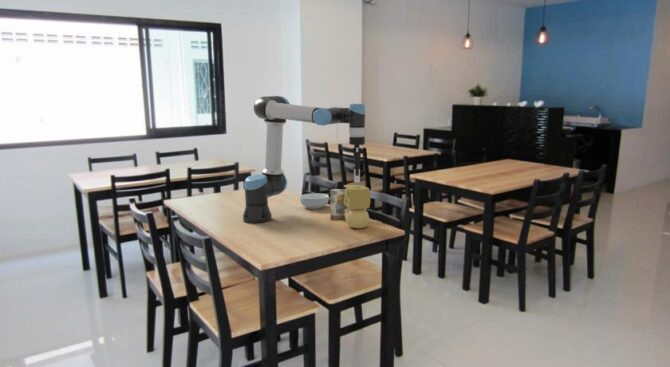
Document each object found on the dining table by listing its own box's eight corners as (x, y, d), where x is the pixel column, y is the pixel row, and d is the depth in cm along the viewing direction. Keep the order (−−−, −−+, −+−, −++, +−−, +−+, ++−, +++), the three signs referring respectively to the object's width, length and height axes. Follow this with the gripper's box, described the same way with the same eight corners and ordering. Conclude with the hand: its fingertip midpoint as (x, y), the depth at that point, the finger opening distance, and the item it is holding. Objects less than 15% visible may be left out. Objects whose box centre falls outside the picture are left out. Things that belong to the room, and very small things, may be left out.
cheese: (343, 205, 233) (343, 185, 231) (364, 203, 236) (364, 184, 234) (349, 210, 224) (349, 189, 222) (370, 208, 226) (371, 188, 224)
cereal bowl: (330, 204, 279) (330, 192, 278) (327, 211, 263) (327, 199, 262) (302, 204, 281) (302, 192, 279) (297, 211, 265) (297, 198, 263)
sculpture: (362, 222, 239) (362, 202, 237) (372, 228, 228) (372, 207, 226) (342, 225, 235) (341, 204, 233) (351, 231, 224) (351, 210, 222)
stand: (330, 219, 245) (330, 191, 242) (330, 216, 251) (330, 188, 248) (356, 219, 245) (356, 191, 242) (356, 216, 251) (356, 188, 248)
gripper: (365, 138, 211) (365, 184, 215) (364, 133, 235) (363, 174, 240) (349, 138, 211) (349, 184, 215) (349, 133, 236) (349, 174, 240)
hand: (356, 179), depth 227 cm, fingers open, 13 cm apart
